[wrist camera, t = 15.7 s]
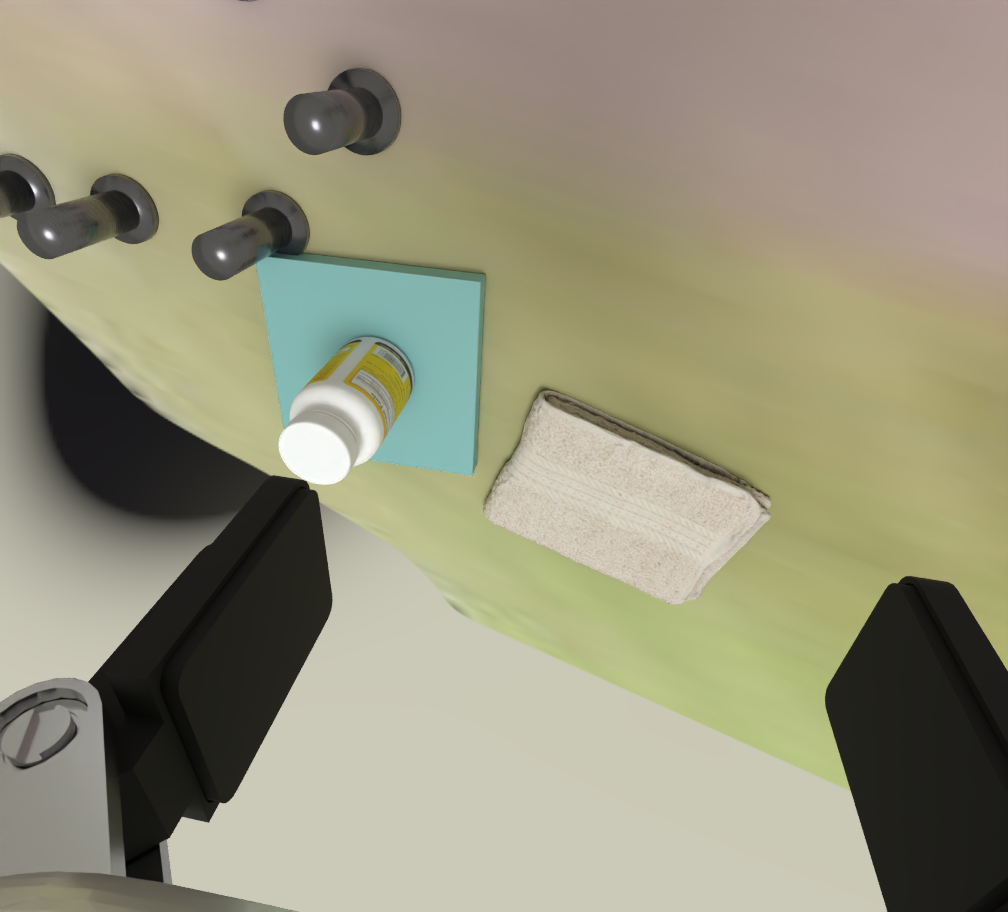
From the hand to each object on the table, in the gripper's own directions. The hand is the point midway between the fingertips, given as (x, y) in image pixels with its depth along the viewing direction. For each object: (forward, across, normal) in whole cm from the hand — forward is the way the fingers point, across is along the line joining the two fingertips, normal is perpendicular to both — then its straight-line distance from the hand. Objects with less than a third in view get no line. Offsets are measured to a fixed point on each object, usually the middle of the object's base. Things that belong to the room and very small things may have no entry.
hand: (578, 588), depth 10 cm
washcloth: (+29, -4, +19) cm, 35 cm away
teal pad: (+28, +14, +11) cm, 33 cm away
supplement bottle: (+27, +14, +11) cm, 32 cm away
